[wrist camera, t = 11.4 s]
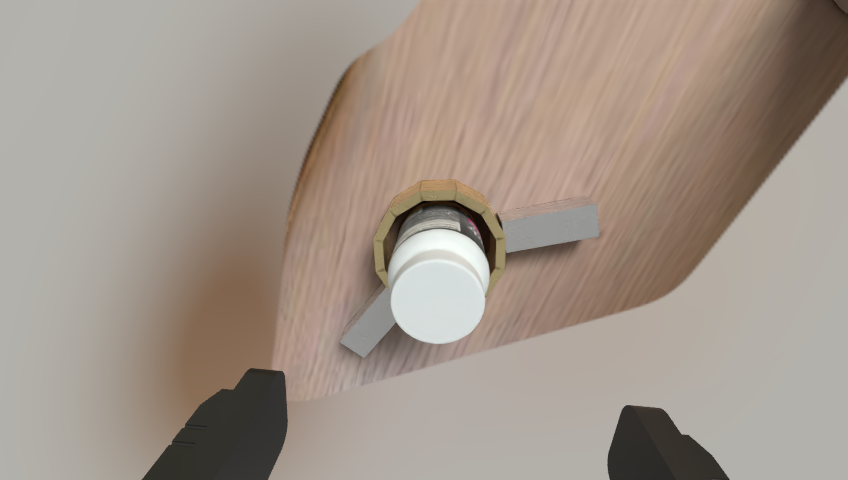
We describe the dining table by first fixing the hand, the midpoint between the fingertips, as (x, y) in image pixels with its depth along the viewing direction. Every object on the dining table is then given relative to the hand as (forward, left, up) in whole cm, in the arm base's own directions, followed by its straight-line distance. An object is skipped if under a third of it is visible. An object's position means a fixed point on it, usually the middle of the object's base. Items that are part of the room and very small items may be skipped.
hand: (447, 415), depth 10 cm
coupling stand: (+2, +2, -20) cm, 20 cm away
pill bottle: (+2, +2, -20) cm, 20 cm away
